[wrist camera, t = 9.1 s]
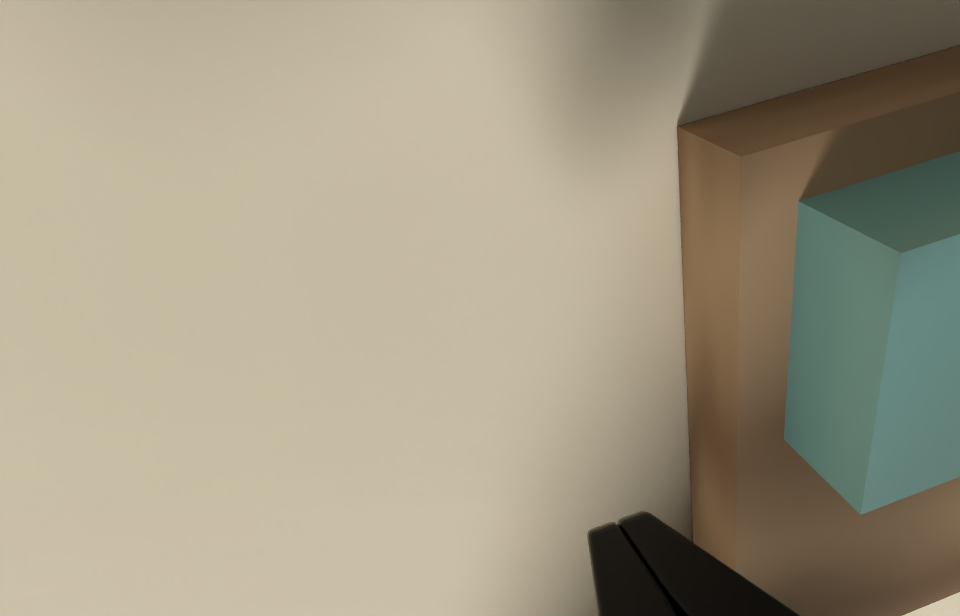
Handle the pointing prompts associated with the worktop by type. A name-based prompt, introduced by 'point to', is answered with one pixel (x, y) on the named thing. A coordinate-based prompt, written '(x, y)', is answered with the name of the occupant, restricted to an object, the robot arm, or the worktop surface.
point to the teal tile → (878, 334)
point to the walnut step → (766, 338)
